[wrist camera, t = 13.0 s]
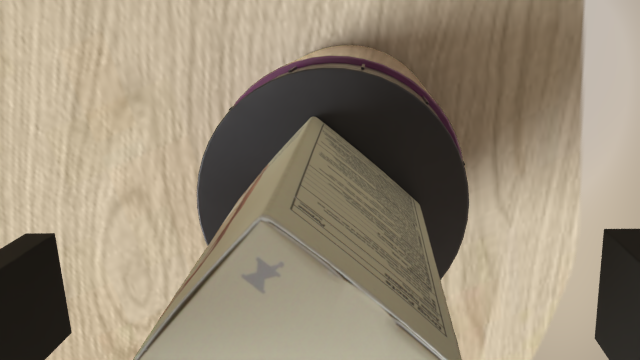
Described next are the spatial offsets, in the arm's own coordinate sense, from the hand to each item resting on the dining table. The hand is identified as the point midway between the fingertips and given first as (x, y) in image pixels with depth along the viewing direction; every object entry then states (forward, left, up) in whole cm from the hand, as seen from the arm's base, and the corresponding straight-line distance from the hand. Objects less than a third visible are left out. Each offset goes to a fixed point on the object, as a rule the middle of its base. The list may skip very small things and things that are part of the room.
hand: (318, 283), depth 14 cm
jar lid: (0, 0, -7) cm, 7 cm away
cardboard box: (0, 0, -7) cm, 7 cm away
